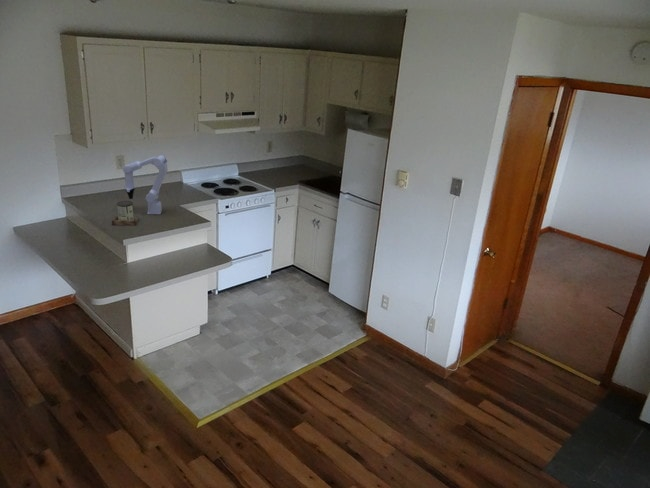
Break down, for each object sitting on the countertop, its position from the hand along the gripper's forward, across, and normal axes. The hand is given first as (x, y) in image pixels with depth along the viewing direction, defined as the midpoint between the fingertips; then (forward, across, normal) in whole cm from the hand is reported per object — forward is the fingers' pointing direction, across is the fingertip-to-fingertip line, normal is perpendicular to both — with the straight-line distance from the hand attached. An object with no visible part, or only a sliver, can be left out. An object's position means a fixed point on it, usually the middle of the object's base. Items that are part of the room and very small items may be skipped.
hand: (131, 198), depth 368 cm
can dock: (+9, +25, +1) cm, 27 cm away
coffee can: (+10, +24, +1) cm, 26 cm away
